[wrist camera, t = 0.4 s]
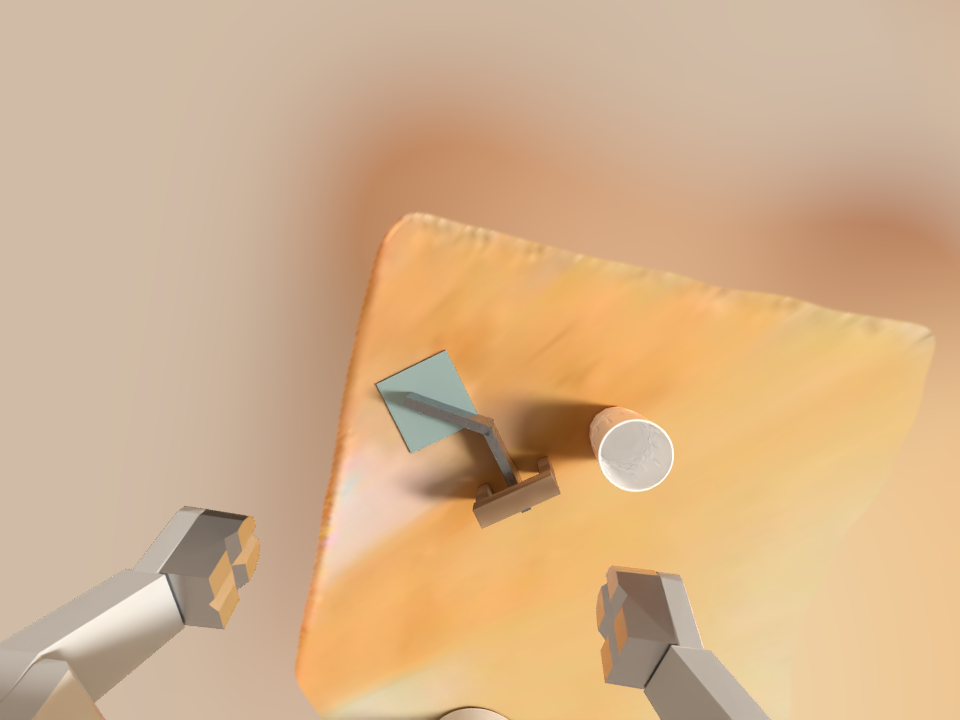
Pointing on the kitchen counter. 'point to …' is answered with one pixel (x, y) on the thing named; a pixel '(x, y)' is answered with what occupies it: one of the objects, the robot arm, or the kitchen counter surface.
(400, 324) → the kitchen counter surface
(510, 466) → the rail
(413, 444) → the pad
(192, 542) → the robot arm
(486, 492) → the arch
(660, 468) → the white cup
